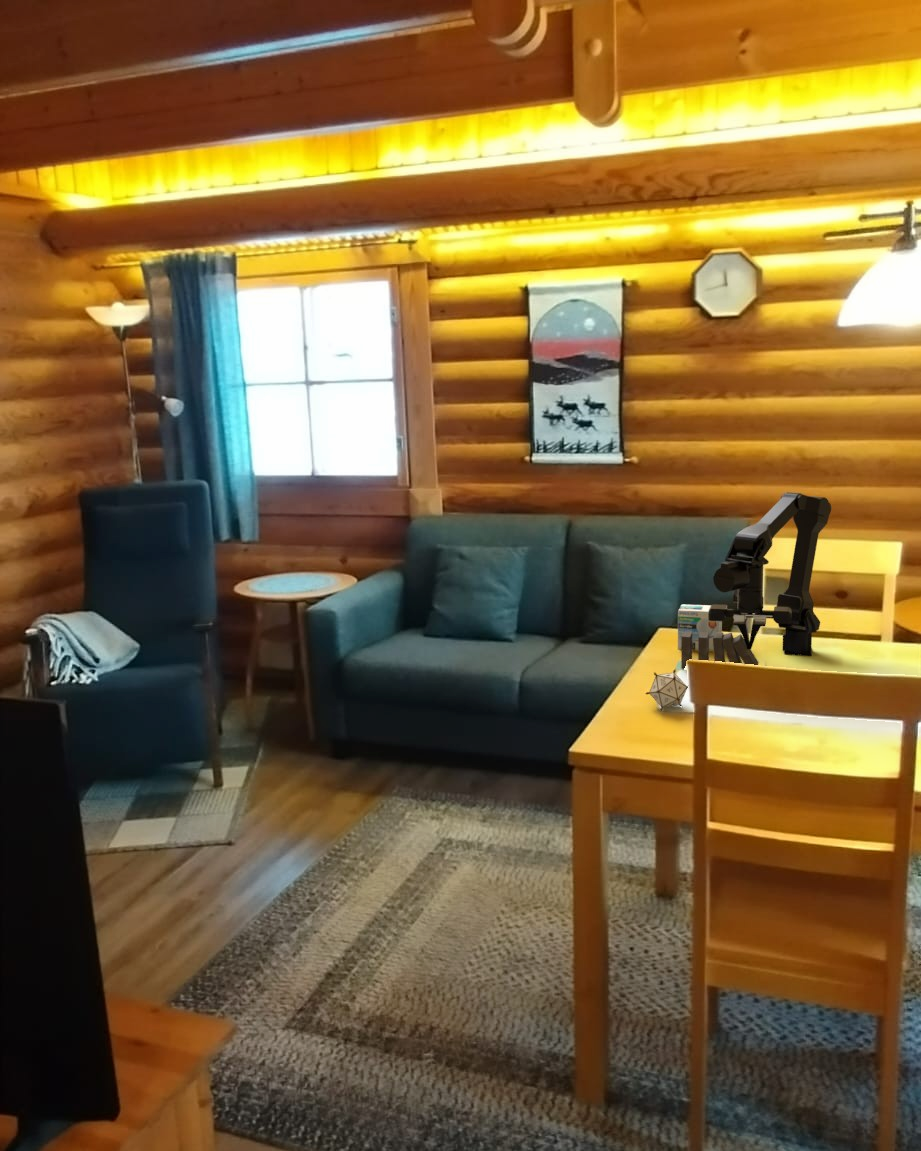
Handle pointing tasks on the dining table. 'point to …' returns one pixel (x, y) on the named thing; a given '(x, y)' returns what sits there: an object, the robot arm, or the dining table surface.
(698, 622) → the light bulb box
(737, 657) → the domino
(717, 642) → the domino
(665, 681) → the game die
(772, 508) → the robot arm
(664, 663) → the dining table surface
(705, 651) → the domino
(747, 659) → the domino
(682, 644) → the domino
